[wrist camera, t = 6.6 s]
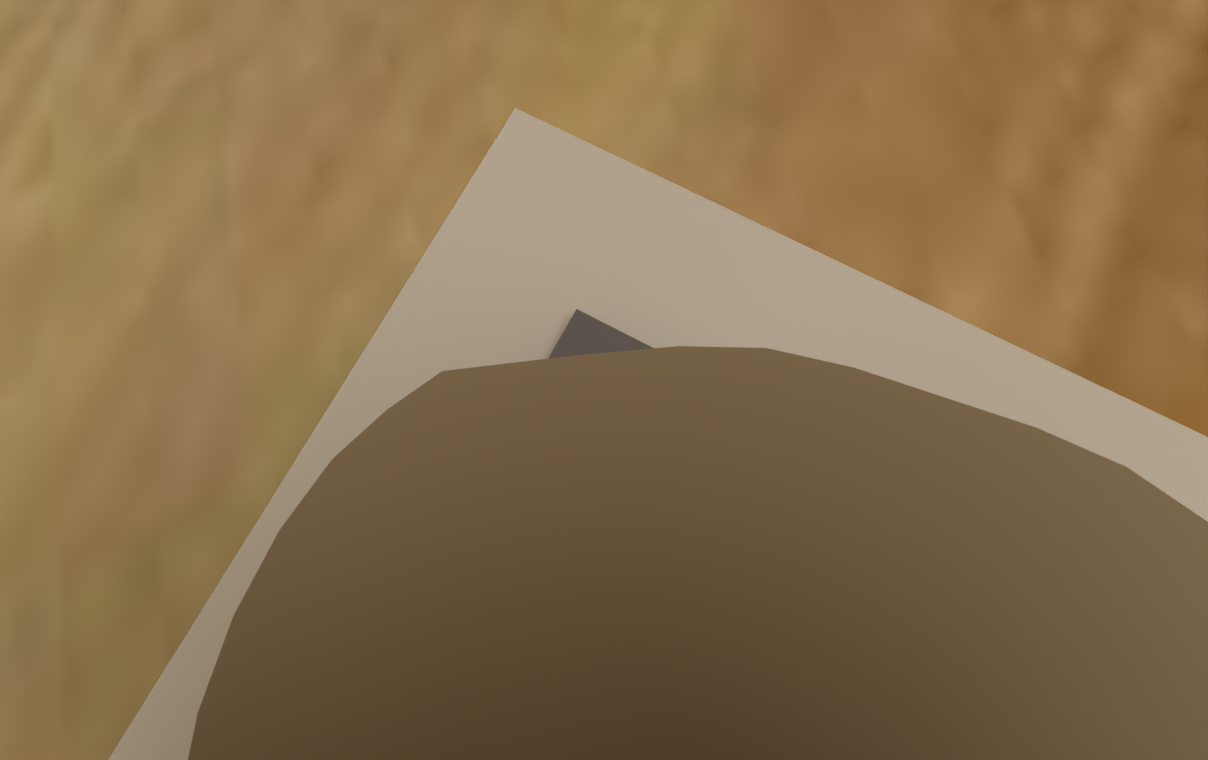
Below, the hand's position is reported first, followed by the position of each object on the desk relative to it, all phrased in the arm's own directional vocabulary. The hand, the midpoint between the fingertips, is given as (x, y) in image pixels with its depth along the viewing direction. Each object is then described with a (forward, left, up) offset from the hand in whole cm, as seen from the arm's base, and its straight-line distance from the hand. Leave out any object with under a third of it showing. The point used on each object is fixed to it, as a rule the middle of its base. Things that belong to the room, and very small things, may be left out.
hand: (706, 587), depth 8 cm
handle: (-1, -1, -11) cm, 11 cm away
